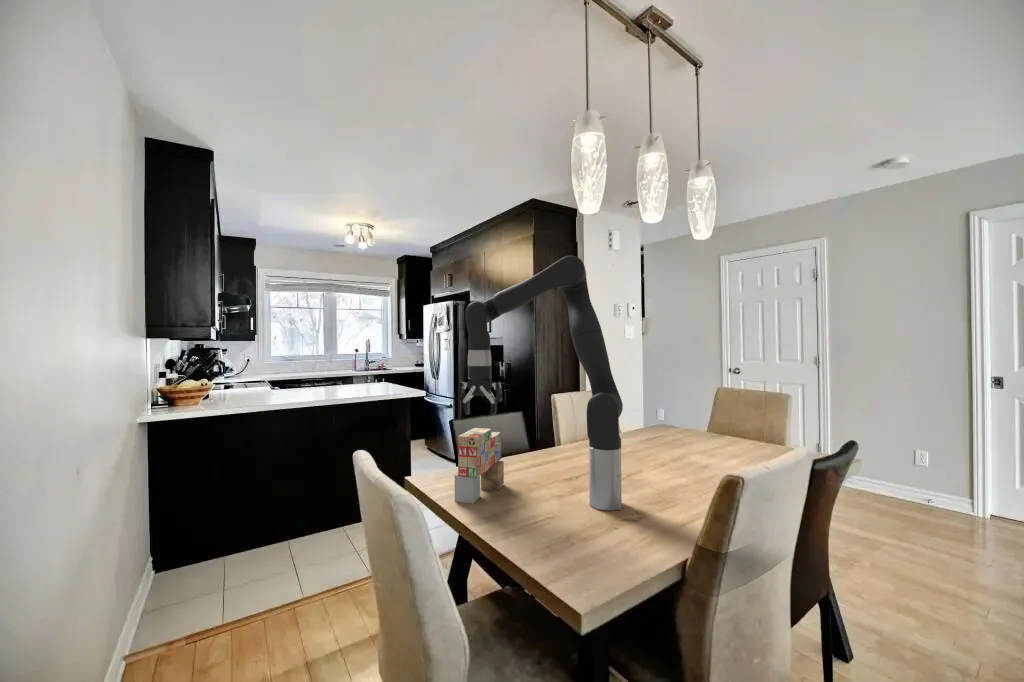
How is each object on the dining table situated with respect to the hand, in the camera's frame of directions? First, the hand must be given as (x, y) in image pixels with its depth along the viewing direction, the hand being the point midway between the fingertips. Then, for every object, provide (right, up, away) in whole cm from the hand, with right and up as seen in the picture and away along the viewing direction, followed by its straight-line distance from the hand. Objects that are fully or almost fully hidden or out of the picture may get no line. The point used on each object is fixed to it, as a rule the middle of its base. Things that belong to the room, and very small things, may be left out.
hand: (480, 414), depth 134 cm
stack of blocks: (0, -17, +1) cm, 17 cm away
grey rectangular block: (-3, -25, -5) cm, 26 cm away
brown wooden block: (+4, -25, +5) cm, 26 cm away
